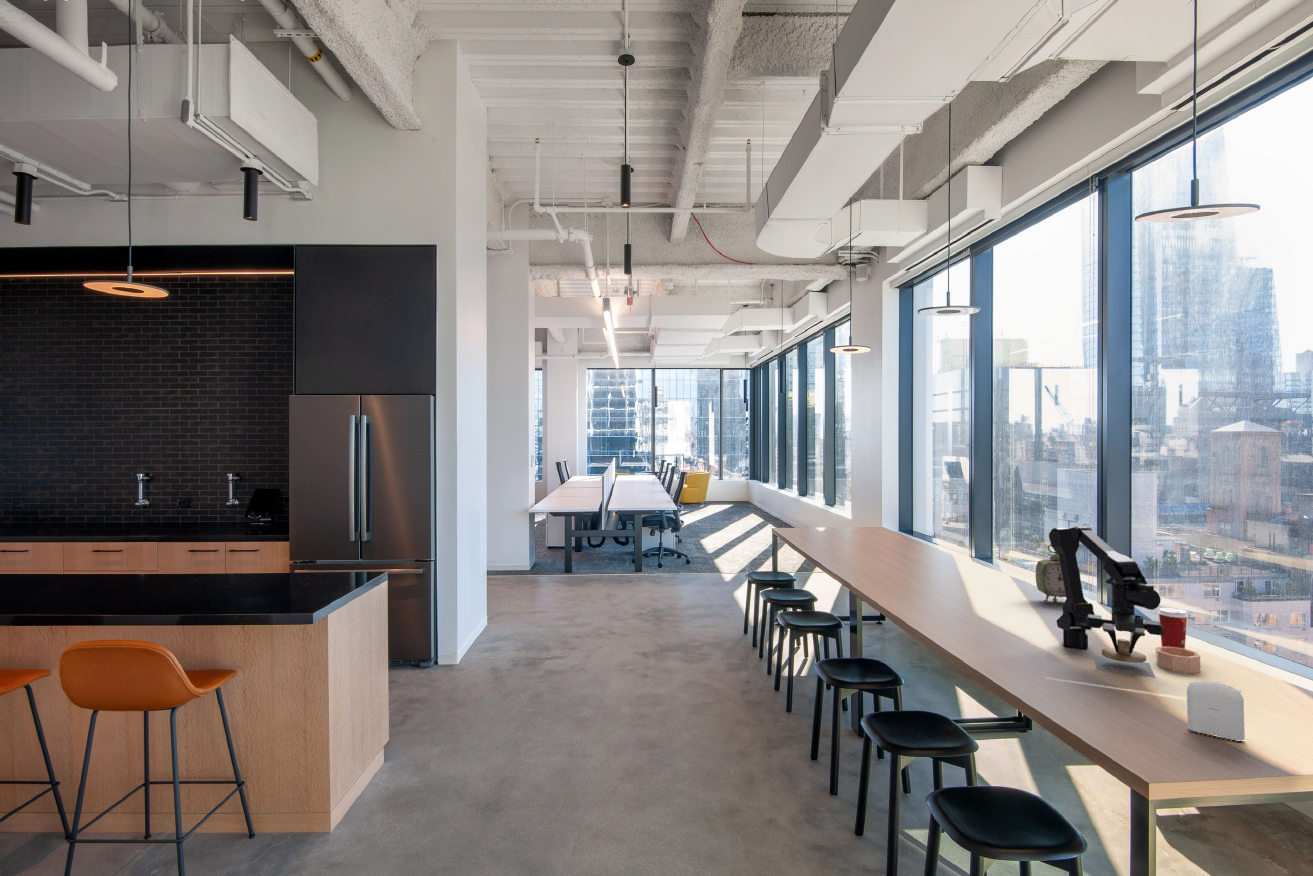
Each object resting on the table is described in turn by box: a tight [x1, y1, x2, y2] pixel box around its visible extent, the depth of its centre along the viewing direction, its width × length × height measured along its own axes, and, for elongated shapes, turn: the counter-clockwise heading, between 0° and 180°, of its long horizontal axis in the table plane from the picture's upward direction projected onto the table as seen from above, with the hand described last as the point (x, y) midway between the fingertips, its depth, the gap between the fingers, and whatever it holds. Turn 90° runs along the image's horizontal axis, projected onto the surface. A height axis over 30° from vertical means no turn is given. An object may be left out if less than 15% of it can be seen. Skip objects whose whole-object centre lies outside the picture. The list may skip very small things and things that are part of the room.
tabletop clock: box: [1035, 543, 1081, 604], centre depth 279 cm, size 14×9×25 cm, turn 81°
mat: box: [1094, 655, 1156, 678], centre depth 200 cm, size 14×14×1 cm
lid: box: [1101, 638, 1147, 663], centre depth 200 cm, size 11×11×5 cm
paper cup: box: [1157, 607, 1189, 649], centre depth 213 cm, size 8×8×14 cm
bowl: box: [1155, 646, 1201, 674], centre depth 199 cm, size 10×10×5 cm
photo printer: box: [1186, 680, 1246, 741], centre depth 155 cm, size 10×4×12 cm, turn 47°
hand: (1123, 653), depth 200 cm, fingers closed on lid, 3 cm apart
